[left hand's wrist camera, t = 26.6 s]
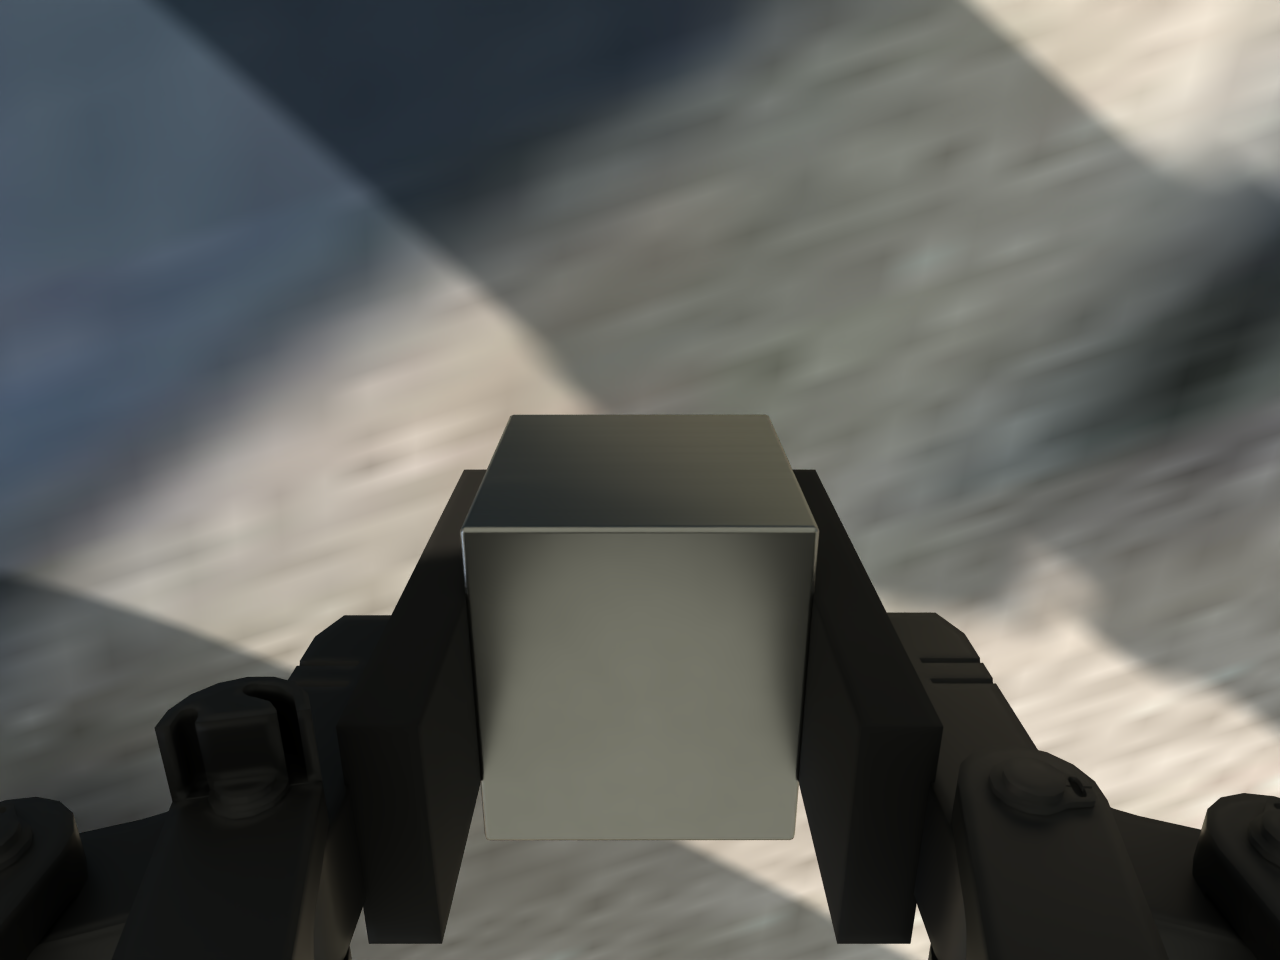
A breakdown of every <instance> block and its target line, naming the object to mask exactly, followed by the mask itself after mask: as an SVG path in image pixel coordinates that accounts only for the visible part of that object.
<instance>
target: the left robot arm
mask: <svg viewBox="0 0 1280 960" xmlns="http://www.w3.org/2000/svg"><path fill="white" fill-rule="evenodd" d="M486 471H487V470H464V471H463V473H462V475H461V477H460V479H459V481H458V483H457V485H456V487H455V489H454V491H453V493H452V495H451V497H450V499H449V501H448V503H447V505H446V507H445V509H444V511H443V513H442V515H441V517H440V519H439V521H438V523H437V525H436V527H435V529H434V531H433V533H432V535H431V537H430V539H429V541H428V543H427V545H426V547H425V549H424V551H423V553H422V555H421V557H420V559H419V561H418V563H417V565H416V567H415V569H414V571H413V573H412V575H411V577H410V579H409V581H408V583H407V585H406V587H405V589H404V591H403V593H402V595H401V597H400V599H399V601H398V603H397V605H396V607H395V609H394V611H393V613H392V615H344V616H343V617H341V618H340V619H339V620H337V621H336V622H335V623H333V624H332V625H330V626H329V627H328V628H326V629H325V630H324V631H322V632H321V633H319V634H318V635H317V636H315V638H314V639H313V641H312V643H311V644H310V646H309V647H308V649H307V651H306V652H305V654H304V655H303V657H302V658H301V660H300V666H296V668H295V670H294V671H293V673H292V674H291V676H290V678H289V679H288V680H284V679H280V678H277V677H245V678H241V679H236V680H231V681H226V682H222V683H218V684H215V685H213V686H210V687H208V688H206V689H203V690H201V691H198V692H196V693H193V694H191V695H190V696H188V697H187V698H185V699H184V700H182V701H181V702H179V703H178V704H176V705H175V706H174V707H172V708H171V709H169V710H168V711H167V712H166V714H165V715H164V716H163V718H162V719H161V720H160V721H159V723H158V724H157V725H156V727H155V731H156V735H157V740H158V744H159V748H160V752H161V756H162V760H163V764H164V768H165V772H166V776H167V781H168V785H169V789H170V793H171V797H172V801H173V802H172V804H171V807H170V810H169V811H168V812H166V813H162V814H159V815H155V816H152V817H149V818H145V819H142V820H137V821H133V822H128V823H124V824H119V825H115V826H110V827H106V828H101V829H97V830H92V831H88V832H83V833H79V832H78V829H77V825H76V822H75V819H74V815H73V813H72V812H71V811H70V810H69V809H68V808H67V807H65V806H64V805H63V804H62V803H61V802H60V801H55V800H50V799H44V798H39V797H32V798H22V799H13V800H5V801H2V802H0V960H352V958H351V952H350V946H349V945H350V942H351V939H352V936H353V933H354V930H355V928H356V925H357V922H358V919H359V916H360V913H361V911H362V908H364V915H365V921H366V928H367V934H368V941H369V944H442V941H443V937H444V933H445V929H446V925H447V920H448V916H449V912H450V908H451V904H452V900H453V895H454V891H455V887H456V883H457V879H458V874H459V870H460V866H461V862H462V858H463V854H464V849H465V845H466V841H467V837H468V833H469V829H470V824H471V820H472V816H473V812H474V808H475V803H476V799H477V795H478V791H479V787H480V783H481V773H480V761H479V749H478V737H477V724H476V712H475V700H474V687H473V675H472V663H471V651H470V638H469V626H468V614H467V601H466V594H465V585H464V573H463V561H462V548H461V536H460V530H461V527H462V525H463V523H464V521H465V518H466V516H467V514H468V511H469V509H470V507H471V505H472V502H473V500H474V498H475V496H476V493H477V491H478V489H479V486H480V484H481V482H482V480H483V477H484V475H485V473H486ZM793 472H794V474H795V477H796V479H797V481H798V483H799V486H800V488H801V490H802V492H803V495H804V497H805V499H806V501H807V504H808V506H809V508H810V511H811V513H812V515H813V517H814V520H815V522H816V524H817V526H818V529H819V540H818V553H817V565H816V577H815V590H814V594H813V605H812V618H811V630H810V643H809V655H808V668H807V680H806V692H805V705H804V717H803V730H802V742H801V755H800V767H799V779H798V781H799V785H800V789H801V794H802V798H803V802H804V806H805V810H806V815H807V819H808V823H809V827H810V831H811V835H812V840H813V844H814V848H815V852H816V856H817V861H818V865H819V869H820V873H821V877H822V881H823V886H824V890H825V894H826V898H827V902H828V906H829V911H830V915H831V919H832V923H833V927H834V932H835V936H836V940H837V944H910V943H911V937H912V930H913V923H914V917H915V910H916V904H917V905H918V908H919V911H920V914H921V917H922V919H923V922H924V925H925V928H926V931H927V934H928V936H929V939H930V942H931V945H930V952H929V958H928V960H1280V798H1278V797H1275V796H1266V795H1257V794H1247V793H1242V794H1237V795H1231V796H1226V797H1221V798H1220V799H1218V800H1217V801H1216V802H1215V803H1214V804H1213V805H1212V806H1210V807H1209V808H1208V809H1207V813H1206V816H1205V819H1204V823H1203V826H1202V829H1201V830H1200V829H1195V828H1191V827H1186V826H1182V825H1177V824H1173V823H1168V822H1164V821H1159V820H1155V819H1150V818H1146V817H1141V816H1137V815H1133V814H1130V813H1127V812H1123V811H1120V810H1116V809H1113V808H1111V807H1110V805H1109V803H1108V800H1107V799H1106V797H1105V796H1104V794H1103V793H1102V791H1101V790H1100V788H1099V787H1098V785H1097V784H1096V782H1095V781H1094V780H1092V779H1091V778H1090V777H1088V776H1087V775H1086V774H1085V773H1083V772H1082V771H1081V770H1080V769H1078V768H1077V767H1076V766H1074V765H1073V764H1071V763H1069V762H1067V761H1065V760H1062V759H1060V758H1058V757H1056V756H1054V755H1052V754H1050V753H1047V752H1044V751H1039V750H1038V749H1037V748H1036V746H1035V745H1034V743H1033V741H1032V740H1031V738H1030V737H1029V735H1028V734H1027V732H1026V730H1025V729H1024V727H1023V726H1022V724H1021V722H1020V721H1019V719H1018V718H1017V716H1016V714H1015V713H1014V711H1013V710H1012V708H1011V707H1010V705H1009V703H1008V702H1007V700H1006V699H1005V697H1004V695H1003V694H1002V692H1001V691H1000V689H999V688H998V686H997V684H993V678H992V676H991V675H990V673H989V672H988V670H987V669H986V667H985V665H984V664H983V663H980V657H979V656H978V654H977V653H976V651H975V650H974V648H973V646H972V645H971V643H970V642H969V640H968V638H967V637H966V635H965V634H964V633H963V632H961V631H960V630H959V629H957V628H956V627H955V626H953V625H952V624H950V623H949V622H948V621H946V620H945V619H943V618H942V617H941V616H939V615H938V614H937V613H886V611H885V609H884V607H883V605H882V603H881V601H880V599H879V597H878V595H877V593H876V591H875V589H874V587H873V585H872V583H871V581H870V579H869V577H868V575H867V573H866V571H865V569H864V567H863V565H862V563H861V561H860V559H859V557H858V555H857V553H856V551H855V549H854V547H853V545H852V543H851V541H850V539H849V537H848V535H847V533H846V531H845V529H844V527H843V525H842V523H841V521H840V519H839V517H838V515H837V513H836V511H835V509H834V507H833V505H832V503H831V501H830V499H829V497H828V495H827V493H826V491H825V489H824V487H823V485H822V483H821V481H820V479H819V477H818V475H817V473H816V471H815V470H793Z"/></svg>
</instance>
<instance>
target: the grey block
mask: <svg viewBox="0 0 1280 960" xmlns="http://www.w3.org/2000/svg"><path fill="white" fill-rule="evenodd" d="M460 536H461V548H462V561H463V573H464V585H465V594H466V601H467V614H468V626H469V638H470V651H471V663H472V675H473V687H474V700H475V712H476V724H477V737H478V749H479V761H480V773H481V793H482V805H483V817H484V829H485V836H486V838H487V839H488V840H791V839H793V838H794V835H795V826H796V813H797V801H798V788H799V781H798V779H799V767H800V755H801V742H802V730H803V717H804V705H805V692H806V680H807V668H808V655H809V643H810V630H811V618H812V605H813V594H814V590H815V577H816V565H817V553H818V540H819V529H818V526H817V524H816V522H815V520H814V517H813V515H812V513H811V511H810V508H809V506H808V504H807V501H806V499H805V497H804V495H803V492H802V490H801V488H800V486H799V483H798V481H797V479H796V477H795V474H794V472H793V470H792V468H791V465H790V463H789V461H788V459H787V456H786V454H785V452H784V450H783V447H782V445H781V443H780V441H779V438H778V436H777V434H776V432H775V429H774V427H773V425H772V423H771V420H770V418H769V416H767V415H512V416H510V418H509V421H508V423H507V425H506V427H505V430H504V432H503V434H502V437H501V439H500V441H499V443H498V446H497V448H496V450H495V452H494V455H493V457H492V459H491V461H490V464H489V466H488V468H487V471H486V473H485V475H484V477H483V480H482V482H481V484H480V486H479V489H478V491H477V493H476V496H475V498H474V500H473V502H472V505H471V507H470V509H469V511H468V514H467V516H466V518H465V521H464V523H463V525H462V527H461V530H460Z"/></svg>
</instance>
